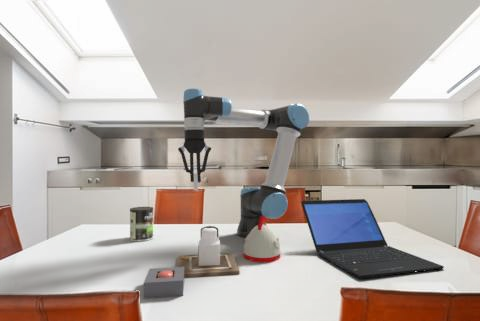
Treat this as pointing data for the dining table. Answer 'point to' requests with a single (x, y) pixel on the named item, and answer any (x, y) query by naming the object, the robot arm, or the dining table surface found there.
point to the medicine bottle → (209, 247)
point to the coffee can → (141, 223)
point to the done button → (165, 274)
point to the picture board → (194, 270)
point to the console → (164, 283)
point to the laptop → (357, 240)
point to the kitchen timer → (261, 244)
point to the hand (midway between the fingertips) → (195, 190)
